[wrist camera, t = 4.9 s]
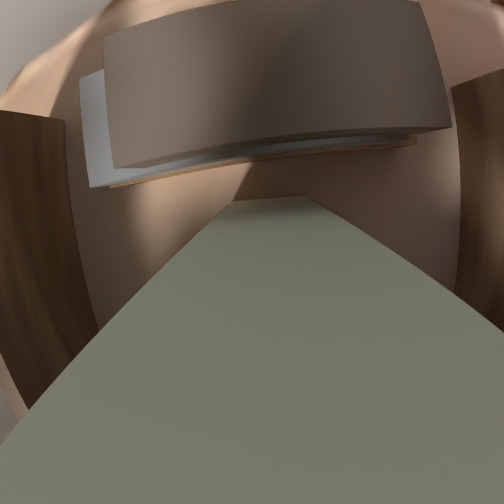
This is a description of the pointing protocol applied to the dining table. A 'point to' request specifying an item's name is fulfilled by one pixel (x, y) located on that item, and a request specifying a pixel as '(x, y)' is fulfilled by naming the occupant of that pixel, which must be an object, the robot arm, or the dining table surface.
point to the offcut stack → (259, 86)
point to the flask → (6, 418)
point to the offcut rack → (69, 265)
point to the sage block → (273, 380)
